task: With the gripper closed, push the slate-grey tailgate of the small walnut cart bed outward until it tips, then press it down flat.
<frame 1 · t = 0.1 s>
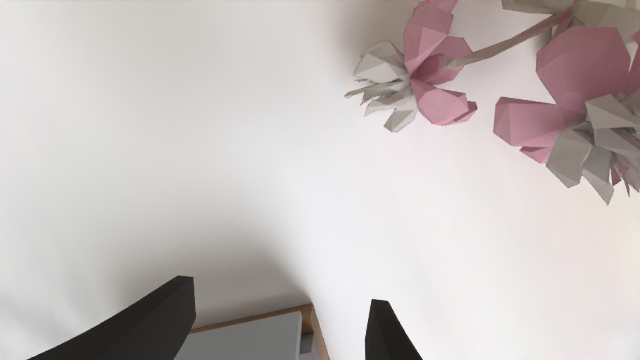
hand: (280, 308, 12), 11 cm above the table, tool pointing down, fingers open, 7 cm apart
flower: (477, 70, 20), on the table
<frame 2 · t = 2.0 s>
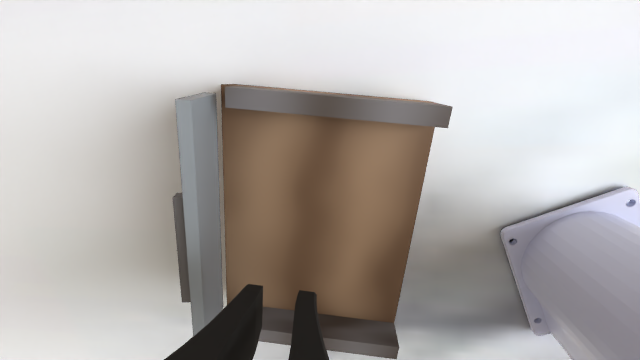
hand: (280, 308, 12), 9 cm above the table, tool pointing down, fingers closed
cart bed: (319, 211, 21), on the table
tailgate: (200, 233, 17), point 5 cm above the table, hinge at -12.0°
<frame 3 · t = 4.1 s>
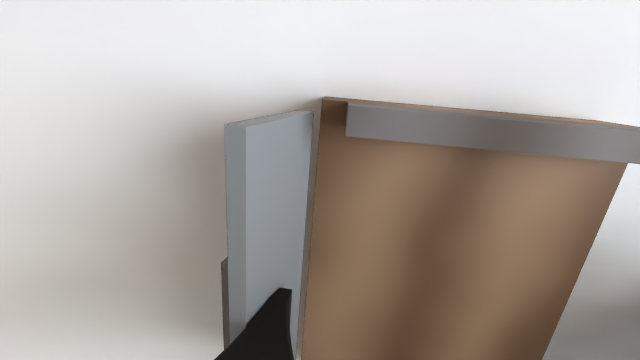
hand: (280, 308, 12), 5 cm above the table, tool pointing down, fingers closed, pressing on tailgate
cart bed: (424, 261, 16), on the table
tailgate: (265, 302, 12), point 4 cm above the table, hinge at 13.8°, touching gripper
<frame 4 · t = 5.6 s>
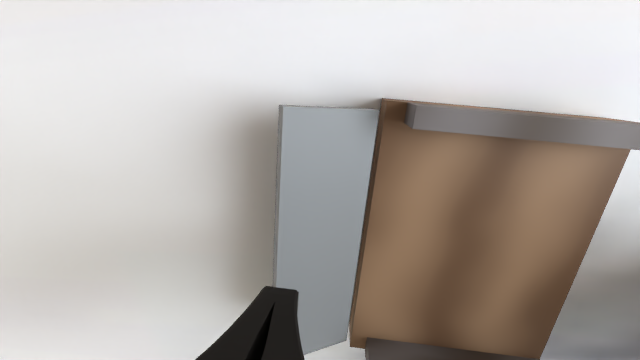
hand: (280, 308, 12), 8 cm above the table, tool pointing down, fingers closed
cart bed: (458, 236, 19), on the table
tailgate: (317, 243, 17), point 3 cm above the table, hinge at 60.7°
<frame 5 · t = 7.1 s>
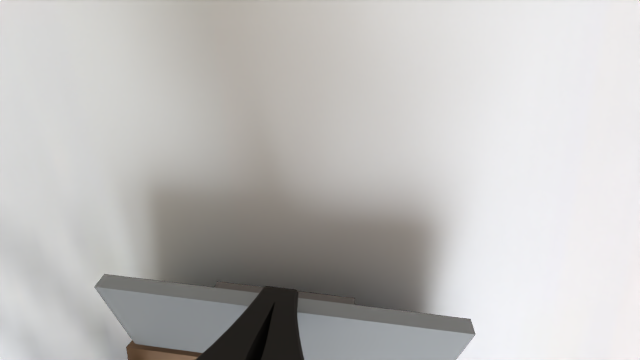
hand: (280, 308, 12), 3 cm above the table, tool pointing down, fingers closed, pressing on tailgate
tailgate: (283, 326, 13), point 2 cm above the table, hinge at 70.4°, touching gripper
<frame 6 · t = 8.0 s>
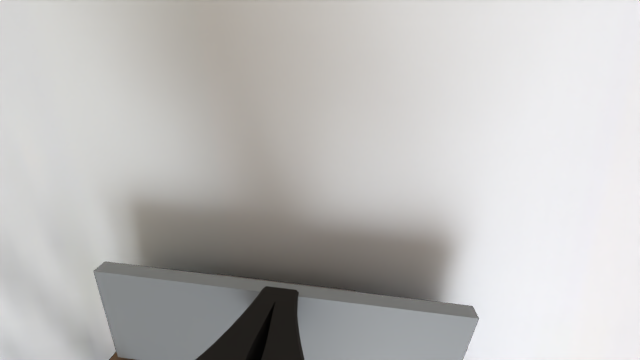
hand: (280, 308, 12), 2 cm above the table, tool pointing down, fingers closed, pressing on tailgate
tailgate: (281, 327, 13), point 2 cm above the table, hinge at 85.5°, touching gripper
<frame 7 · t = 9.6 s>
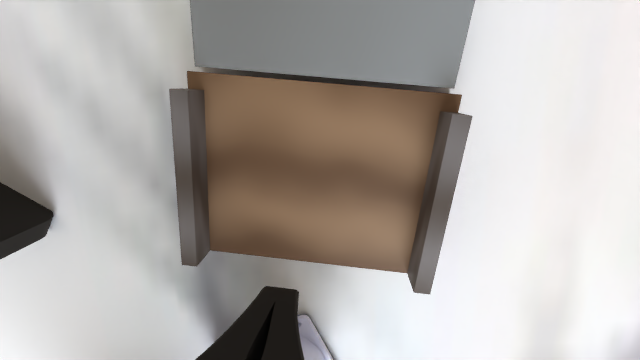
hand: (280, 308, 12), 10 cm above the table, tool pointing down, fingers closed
cart bed: (316, 172, 21), on the table
tailgate: (326, 29, 17), point 2 cm above the table, hinge at 85.9°
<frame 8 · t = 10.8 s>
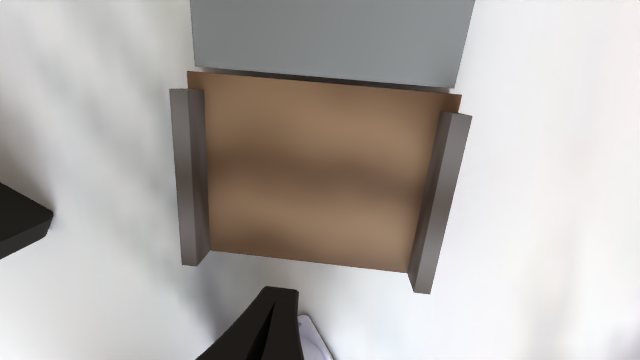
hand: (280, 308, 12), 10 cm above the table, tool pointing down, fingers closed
cart bed: (316, 172, 21), on the table
tailgate: (326, 29, 17), point 2 cm above the table, hinge at 85.9°
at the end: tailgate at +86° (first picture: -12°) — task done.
